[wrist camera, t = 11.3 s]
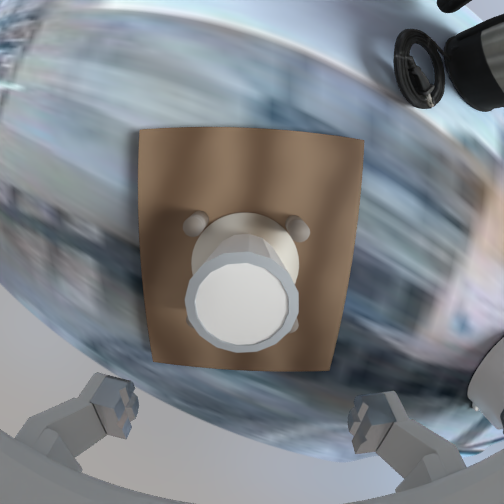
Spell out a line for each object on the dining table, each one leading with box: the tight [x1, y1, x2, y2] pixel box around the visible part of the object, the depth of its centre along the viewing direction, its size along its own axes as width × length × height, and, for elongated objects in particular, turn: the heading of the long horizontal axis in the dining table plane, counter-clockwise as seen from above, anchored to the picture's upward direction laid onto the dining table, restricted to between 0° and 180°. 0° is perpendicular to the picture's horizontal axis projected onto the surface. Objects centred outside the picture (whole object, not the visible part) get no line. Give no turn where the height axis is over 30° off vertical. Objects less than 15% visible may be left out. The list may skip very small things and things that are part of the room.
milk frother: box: [394, 0, 504, 112], centre depth 12 cm, size 14×16×15 cm
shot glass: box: [185, 234, 299, 353], centre depth 20 cm, size 7×7×7 cm
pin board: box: [138, 127, 364, 371], centre depth 23 cm, size 18×22×5 cm
